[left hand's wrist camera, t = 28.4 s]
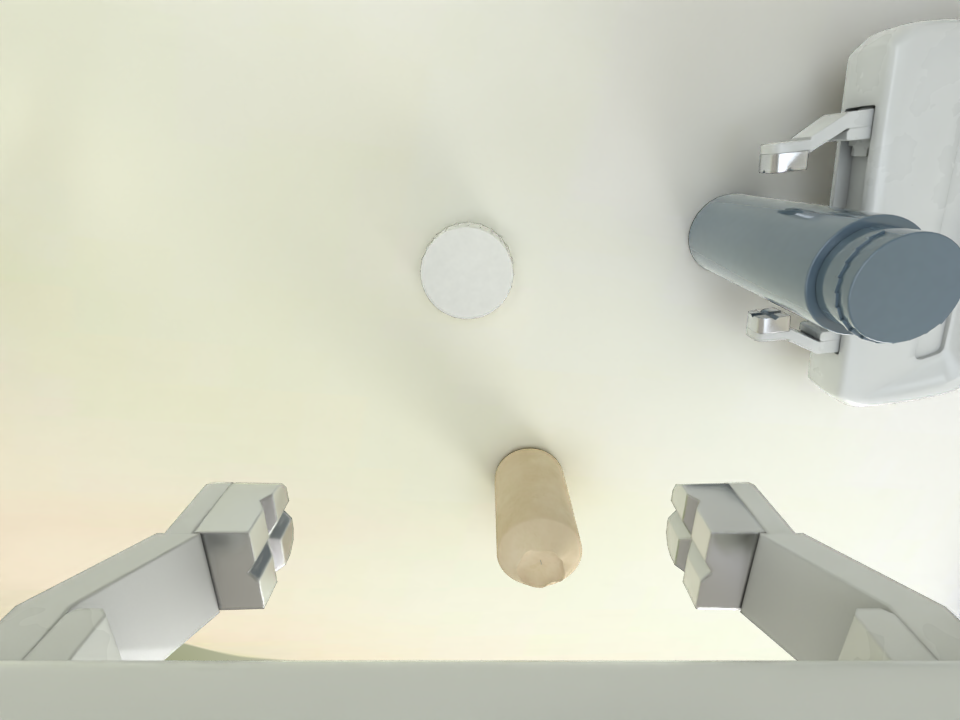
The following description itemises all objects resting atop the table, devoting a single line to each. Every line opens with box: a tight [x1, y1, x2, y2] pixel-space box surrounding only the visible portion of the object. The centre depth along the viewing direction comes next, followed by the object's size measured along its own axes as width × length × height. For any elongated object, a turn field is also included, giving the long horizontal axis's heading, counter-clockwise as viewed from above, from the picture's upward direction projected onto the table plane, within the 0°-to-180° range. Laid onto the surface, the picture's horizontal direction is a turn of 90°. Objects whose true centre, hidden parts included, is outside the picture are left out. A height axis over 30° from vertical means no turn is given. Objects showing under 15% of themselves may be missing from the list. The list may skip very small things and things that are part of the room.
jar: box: [689, 193, 960, 344], centre depth 27 cm, size 5×5×16 cm
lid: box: [420, 222, 514, 319], centre depth 34 cm, size 6×6×2 cm
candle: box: [495, 448, 582, 588], centre depth 36 cm, size 6×6×10 cm
